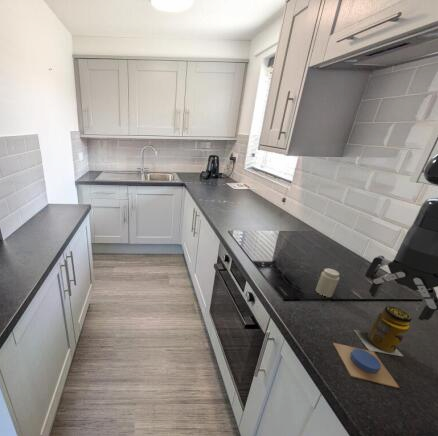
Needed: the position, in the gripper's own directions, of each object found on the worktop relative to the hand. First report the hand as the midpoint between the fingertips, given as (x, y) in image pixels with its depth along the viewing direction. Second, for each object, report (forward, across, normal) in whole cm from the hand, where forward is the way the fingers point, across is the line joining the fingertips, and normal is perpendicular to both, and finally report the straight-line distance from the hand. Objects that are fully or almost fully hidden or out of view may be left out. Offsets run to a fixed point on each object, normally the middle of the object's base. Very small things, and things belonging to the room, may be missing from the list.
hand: (396, 306), depth 55 cm
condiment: (+19, -2, +10) cm, 21 cm away
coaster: (+19, 0, -2) cm, 19 cm away
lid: (+17, 0, -2) cm, 17 cm away
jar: (+18, -22, +20) cm, 35 cm away
